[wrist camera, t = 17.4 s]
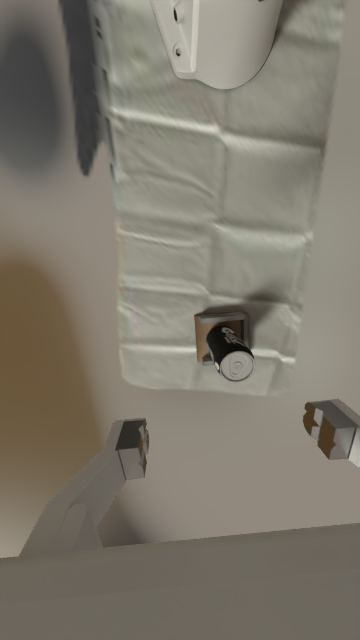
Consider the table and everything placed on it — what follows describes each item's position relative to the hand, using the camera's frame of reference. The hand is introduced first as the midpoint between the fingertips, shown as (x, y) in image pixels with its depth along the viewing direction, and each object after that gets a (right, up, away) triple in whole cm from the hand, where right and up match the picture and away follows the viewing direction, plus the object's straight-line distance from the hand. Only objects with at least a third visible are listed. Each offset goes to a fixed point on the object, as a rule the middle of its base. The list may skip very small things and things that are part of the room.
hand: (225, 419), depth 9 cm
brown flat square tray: (+7, +1, +32) cm, 33 cm away
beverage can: (+7, +1, +32) cm, 33 cm away
